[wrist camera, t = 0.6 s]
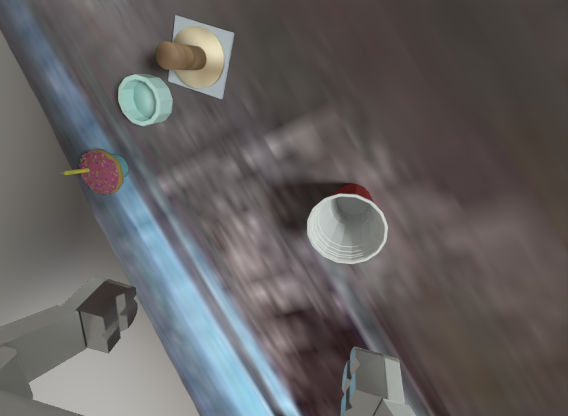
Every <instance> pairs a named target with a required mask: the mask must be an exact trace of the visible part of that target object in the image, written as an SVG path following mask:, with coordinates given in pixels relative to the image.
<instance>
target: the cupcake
mask: <svg viewBox="0 0 568 416" xmlns="http://www.w3.org/2000/svg"><path fill="white" fill-rule="evenodd" d="M79 166H80V169H78V170H71V171H64V172H63V173H61V174H65V175H70V174H77V173H80V174H81V177H82V179H83V181H84V182H85V183H86V184H87V185H88V187H89V188H90V189H92V190H93V191H95V192H97V193H100V194H103V195H105V194H112V193H115V192H116V191H117V190H118V189H119V188H120V186H121V185H122V184H123V180H124V177H125V176H126V175H127V173H128V165H127V163H126V161H125V160H124V159H123V158H122V157H121V156H119V155H116V154H110V153H108V152H107V151H105V150H102V149H95V150H91V151H88V152H86V153H85V154H83V155H82V157H81V159H80V165H79Z"/></svg>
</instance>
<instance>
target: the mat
mask: <svg viewBox="0 0 568 416" xmlns="http://www.w3.org/2000/svg"><path fill="white" fill-rule="evenodd" d="M190 26H199V27H203V28H206V29H208V30H210V31H211V32H212V33H213V34H214V35H215V36H216V37H217V38H218V39H219V41H220V43H221V45H222V47H223V50H224V56H225V65H224V70H223V73H222V75H221V77H220V78H219V80H218V81H217V82H216V83H215V84H214V85H212V86H210V87H207V88H193V87H191V86H189V85H187V84H185V83H184V82H183V81H182V80H181V79H180V78H179V77H178V75H177V74H176V72H175V70H169V78H168V81H169V82H172V83H175V84H178V85H181V86H184V87H187V88H190V89H193V90H196V91H199V92H201V93H204V94H207V95H210V96H213V97H216V98H219V99H223V94H224V88H225V83H226V77H227V72H228V66H229V61H230V55H231V49H232V44H233V38H234V33H232V32H229V31H225V30H222V29H219V28H216V27H212V26H209V25H206V24H203V23H199V22H196V21H193V20H189V19H186V18H183V17H180V16H176V15H175V23H174V32H173V41H172V43H173V42H174V39H175V38H176V36H177V35H178V33H179V32H180V31H182V30H183V29H185V28H187V27H190Z"/></svg>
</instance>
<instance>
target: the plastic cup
mask: <svg viewBox="0 0 568 416" xmlns="http://www.w3.org/2000/svg"><path fill="white" fill-rule="evenodd" d="M387 230H388V226H387V223H386V220H385V217H384V215H383V213H382V211H381V210H380V209H379V208H378V207H377V206H376V205H375V204H374V202H373V200H372V198H371V196H370V194H369V192H368V191H367V190H366V189H365V188H364V187H362V186H360V185H358V184H348V185H345V186H342V187H341V188H339V189H338V190H337V191H336V192H335V193H333V194H332V195H331V196H330V197H327V198H324V199H323V200H322V201H321V202H320V203H318V204H317V205H316V206H315V207H314V208H313V209H312V211H311V213H310V216H309V218H308V220H307V235H308V237H309V239H310V241H311V243H312V245H313V247H314V248H315V249H316V250H317V251H318V252H319V253H320V254H321V255H322V256H324V257H326V258H328V259H330V260H333V261H335V262H338V263H347V264H354V263H358V262H363V261H367V260H368V259H370V258H371V257H373V256H374V255H376V254H377V253H379V251H380V250H381V248H382V247H383V245H384V244H385V242H386V239H387Z"/></svg>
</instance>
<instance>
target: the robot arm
mask: <svg viewBox="0 0 568 416" xmlns="http://www.w3.org/2000/svg"><path fill="white" fill-rule="evenodd" d="M135 295H136V288H135V287H133V286H129V285H126V284H123V283H120V282H116V281H113V280H110V279H106V278H102V277H99V276H95V277H92V278H91V279H90V280H89V281H87V282H86V283H85V284H84V285H83V286H82V287H81V288H80V289H79V290H78V291H77V292H76V293H74V294H73V295H72V296H71V297H70V298H69V299H68V300H67V301H66V302H65V303H64V304H63V305H62V306H58V305H56V306H54V307H51V308H49V309H46V310H43V311H41V312H38V313H35V314H33V315H30V316H27V317H25V318H22V319H20V320H17V321H14V322H12V323H9V324H6V325H4V326H1V327H0V416H83V415H80V414H77V413H73V412H70V411H67V410H64V409H61V408H58V407H55V406H51V405H48V404H45V403H42V402H39V401H36V400H32V399H33V394H32V391H31V388H30V385H29V382H30V381H32V380H34V379H36V378H37V377H39V376H41V375H43V374H44V373H46V372H47V371H49V370H51V369H53V368H54V367H56V366H58V365H59V364H61V363H63V362H65V361H66V360H68V359H69V358H71V357H73V356H75V355H76V354H78V353H80V352H81V351H83V350H85V349H86V347H87V348H90V349H94V350H98V351H102V352H106V353H109V352H110V351H111V350H112V348H113V347H114V346H115V344H116V343H117V342H118V340H119V339H120V332H121V331H123V330H125V329H127V328H129V326H130V325H131V323H132V322H133V320H134V318H135V316H136V313H137V302H136V301H135V300H134V297H135ZM342 390H343V392H344V394H345V395H344V397H343V400H342V402H341V416H416V415H415V414H414V412H413V411H412V409H411V408H410V406H408V405H405V402H404V394H403V387H402V379H401V371H400V364H399V360H398V358H394V357H391V356H387V355H382V354H381V353H377V352H373V351H369V350H365V349H361V348H357V347H354V348H353V349H352V351H351V356H350V360H349V361H347V364H346V366H345V370H344V374H343V382H342Z"/></svg>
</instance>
